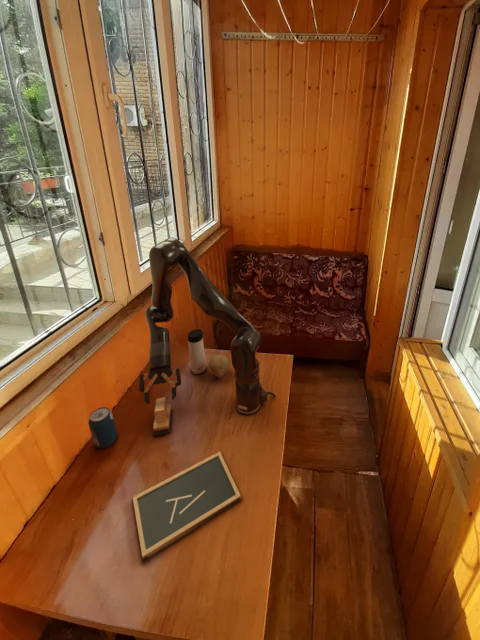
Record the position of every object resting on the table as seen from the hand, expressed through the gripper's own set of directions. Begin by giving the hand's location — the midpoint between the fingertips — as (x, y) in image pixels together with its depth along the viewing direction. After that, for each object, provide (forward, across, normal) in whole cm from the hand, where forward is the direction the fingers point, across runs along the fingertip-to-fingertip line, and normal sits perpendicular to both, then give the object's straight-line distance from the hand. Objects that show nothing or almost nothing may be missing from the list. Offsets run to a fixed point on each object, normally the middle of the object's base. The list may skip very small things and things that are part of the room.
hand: (160, 401), depth 112 cm
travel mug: (-11, +13, +23) cm, 29 cm away
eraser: (+7, 0, +4) cm, 8 cm away
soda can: (+9, -18, +3) cm, 20 cm away
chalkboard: (+28, +9, -17) cm, 34 cm away
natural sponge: (-7, +22, +19) cm, 30 cm away
